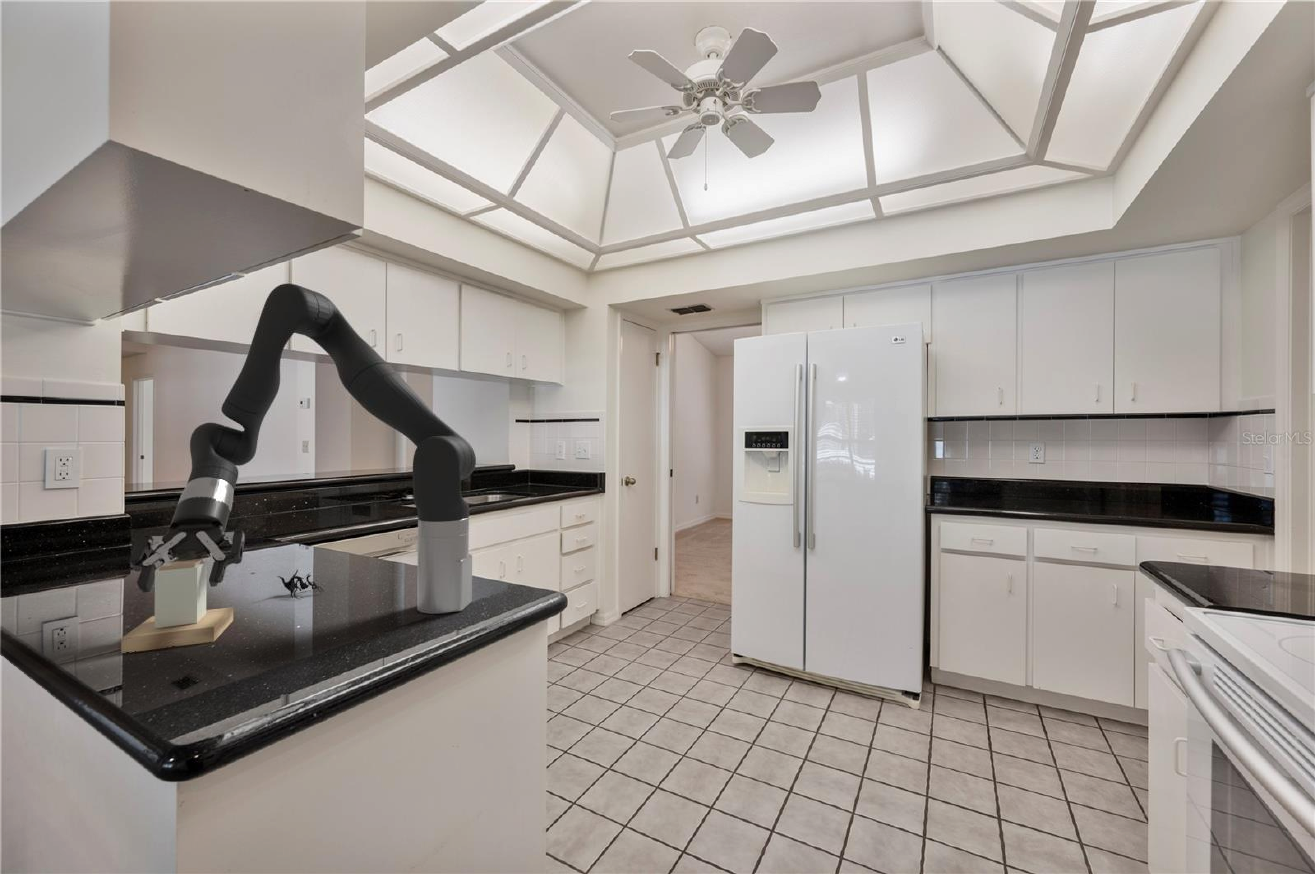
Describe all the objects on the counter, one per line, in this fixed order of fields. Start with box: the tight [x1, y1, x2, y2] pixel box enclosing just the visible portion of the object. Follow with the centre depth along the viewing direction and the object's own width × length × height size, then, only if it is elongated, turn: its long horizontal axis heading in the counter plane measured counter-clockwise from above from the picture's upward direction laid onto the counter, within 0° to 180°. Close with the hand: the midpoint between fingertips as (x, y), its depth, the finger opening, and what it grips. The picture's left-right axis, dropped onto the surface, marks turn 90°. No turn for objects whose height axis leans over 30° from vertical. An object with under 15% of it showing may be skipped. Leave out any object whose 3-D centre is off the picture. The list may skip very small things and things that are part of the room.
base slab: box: [120, 606, 234, 654], centre depth 87 cm, size 11×11×3 cm
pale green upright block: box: [154, 558, 207, 628], centre depth 87 cm, size 5×5×10 cm
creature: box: [277, 568, 324, 600], centre depth 110 cm, size 8×5×8 cm
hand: (179, 586), depth 86 cm, fingers open, 8 cm apart
